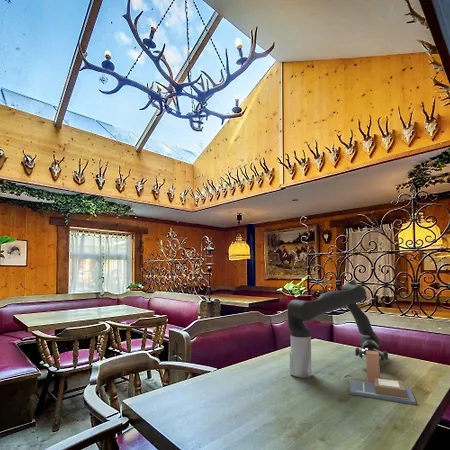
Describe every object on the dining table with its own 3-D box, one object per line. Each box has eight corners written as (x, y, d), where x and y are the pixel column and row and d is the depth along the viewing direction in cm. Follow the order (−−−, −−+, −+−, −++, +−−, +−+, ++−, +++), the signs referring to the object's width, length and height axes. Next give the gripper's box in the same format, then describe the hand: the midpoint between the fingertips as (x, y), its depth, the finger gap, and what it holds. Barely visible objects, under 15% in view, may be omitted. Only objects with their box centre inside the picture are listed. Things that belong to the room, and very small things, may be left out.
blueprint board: (349, 394, 118) (349, 383, 118) (350, 381, 131) (350, 372, 131) (416, 404, 109) (415, 392, 110) (410, 390, 122) (409, 380, 122)
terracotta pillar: (367, 382, 130) (365, 353, 132) (367, 378, 135) (365, 350, 136) (380, 384, 128) (378, 354, 130) (379, 380, 133) (378, 351, 134)
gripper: (355, 339, 161) (354, 347, 146) (385, 342, 155) (388, 350, 140) (356, 354, 160) (355, 363, 145) (386, 358, 154) (389, 367, 139)
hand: (371, 357), depth 143 cm, fingers open, 8 cm apart
